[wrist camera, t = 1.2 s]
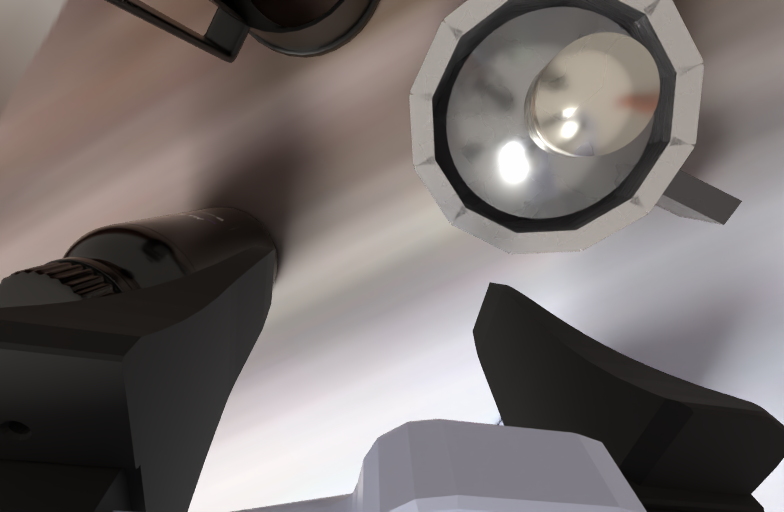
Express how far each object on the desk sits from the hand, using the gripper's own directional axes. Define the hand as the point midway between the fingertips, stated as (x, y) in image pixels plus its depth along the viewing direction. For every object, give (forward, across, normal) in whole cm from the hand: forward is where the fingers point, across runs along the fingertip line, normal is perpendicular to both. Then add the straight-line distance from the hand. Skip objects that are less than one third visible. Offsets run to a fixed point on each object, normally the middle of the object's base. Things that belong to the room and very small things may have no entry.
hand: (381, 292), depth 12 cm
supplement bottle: (+12, +9, +6) cm, 16 cm away
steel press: (+10, -9, -5) cm, 15 cm away
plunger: (+8, -7, -6) cm, 12 cm away
